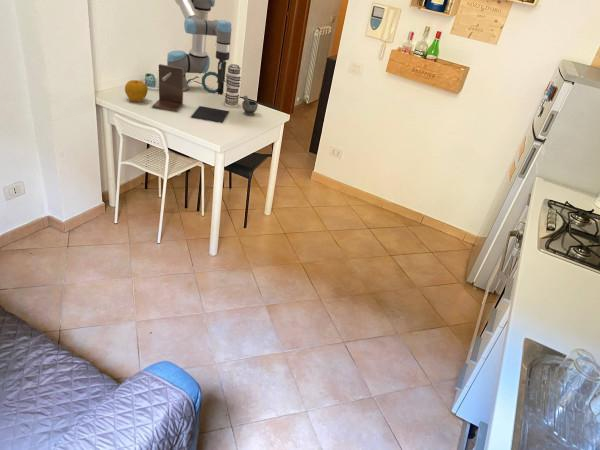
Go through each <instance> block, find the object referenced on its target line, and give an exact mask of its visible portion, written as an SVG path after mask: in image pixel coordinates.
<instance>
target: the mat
mask: <svg viewBox="0 0 600 450" xmlns="http://www.w3.org/2000/svg"><path fill="white" fill-rule="evenodd" d="M228 114H229V110H227V109H219V108H213V107H208V106H202V105H199V106H198V107H197V109H195V111H194V112H193V114H191V116H190V118H191V119H197V120H203V121H208V122H214V123H223V122H224V121H225V119H226V118H227V116H228Z"/></svg>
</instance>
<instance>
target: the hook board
mask: <svg viewBox="0 0 600 450" xmlns="http://www.w3.org/2000/svg"><path fill="white" fill-rule="evenodd" d="M183 106H184V91H183V68H179V67H173V66H167V64H162V63H159V64H158V100H157V101H155V103H153V104H152V109H157V110H163V111H169V112H173V113H177V112H178V111H179V110H180V109H182V107H183Z"/></svg>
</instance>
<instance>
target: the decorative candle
mask: <svg viewBox="0 0 600 450" xmlns="http://www.w3.org/2000/svg"><path fill="white" fill-rule="evenodd" d="M226 72H227V73H226V74H225V83H226V84H225V87H226V90H225V95H224V96H225V98H224V105H225V106H226V107H228V108H229V107H230V108H237V107H238V106H239V99H240V98H239V97H240V93H239V89H240V87H241V83H240V82H241V79H242V77H241V67H240V65H239V64H236V63H231V64H229V65H228V66H227V71H226Z"/></svg>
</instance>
